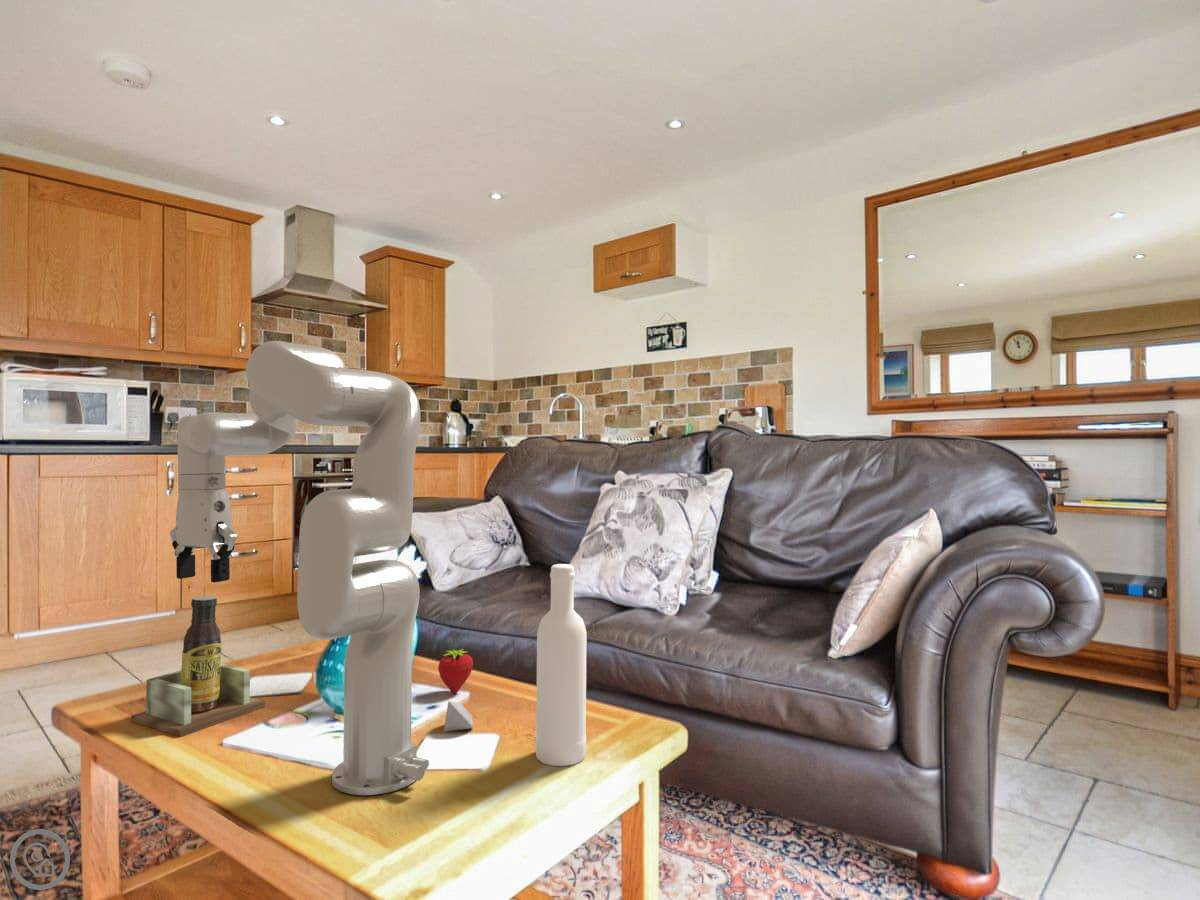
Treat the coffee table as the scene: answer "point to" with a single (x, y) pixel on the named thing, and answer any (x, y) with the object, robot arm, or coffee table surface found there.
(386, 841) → the coffee table surface
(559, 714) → the bottle
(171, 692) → the rest
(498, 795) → the coffee table surface
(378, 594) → the robot arm
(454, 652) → the strawberry
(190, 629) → the sauce bottle
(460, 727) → the grey pyramid
